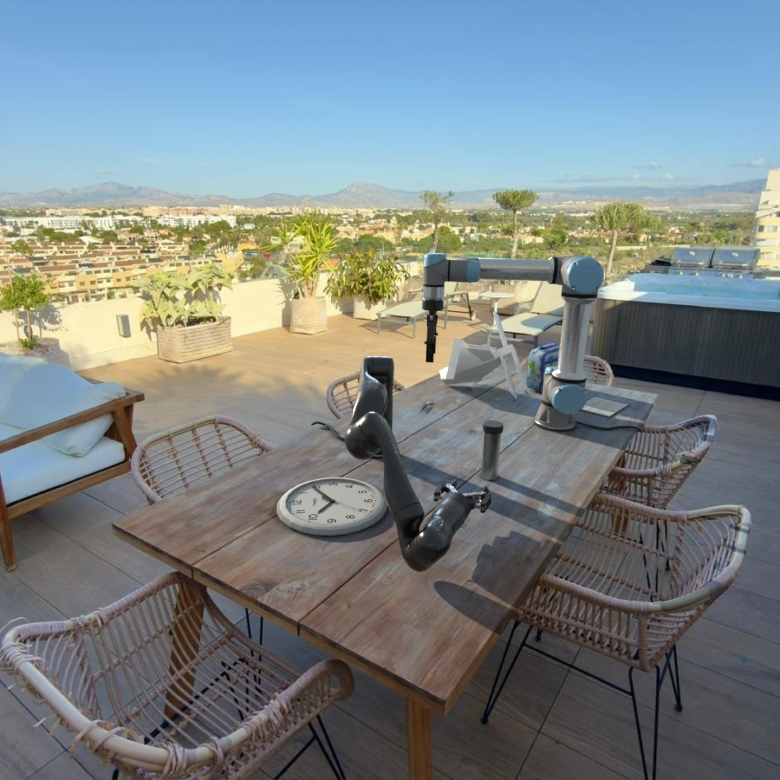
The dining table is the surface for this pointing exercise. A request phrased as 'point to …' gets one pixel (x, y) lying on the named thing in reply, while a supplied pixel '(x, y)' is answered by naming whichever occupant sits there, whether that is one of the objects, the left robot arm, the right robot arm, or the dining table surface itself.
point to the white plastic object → (482, 362)
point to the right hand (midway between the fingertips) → (430, 357)
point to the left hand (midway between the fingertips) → (470, 485)
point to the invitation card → (603, 406)
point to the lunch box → (541, 364)
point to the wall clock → (331, 506)
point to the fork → (427, 403)
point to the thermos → (490, 456)
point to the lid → (493, 427)
